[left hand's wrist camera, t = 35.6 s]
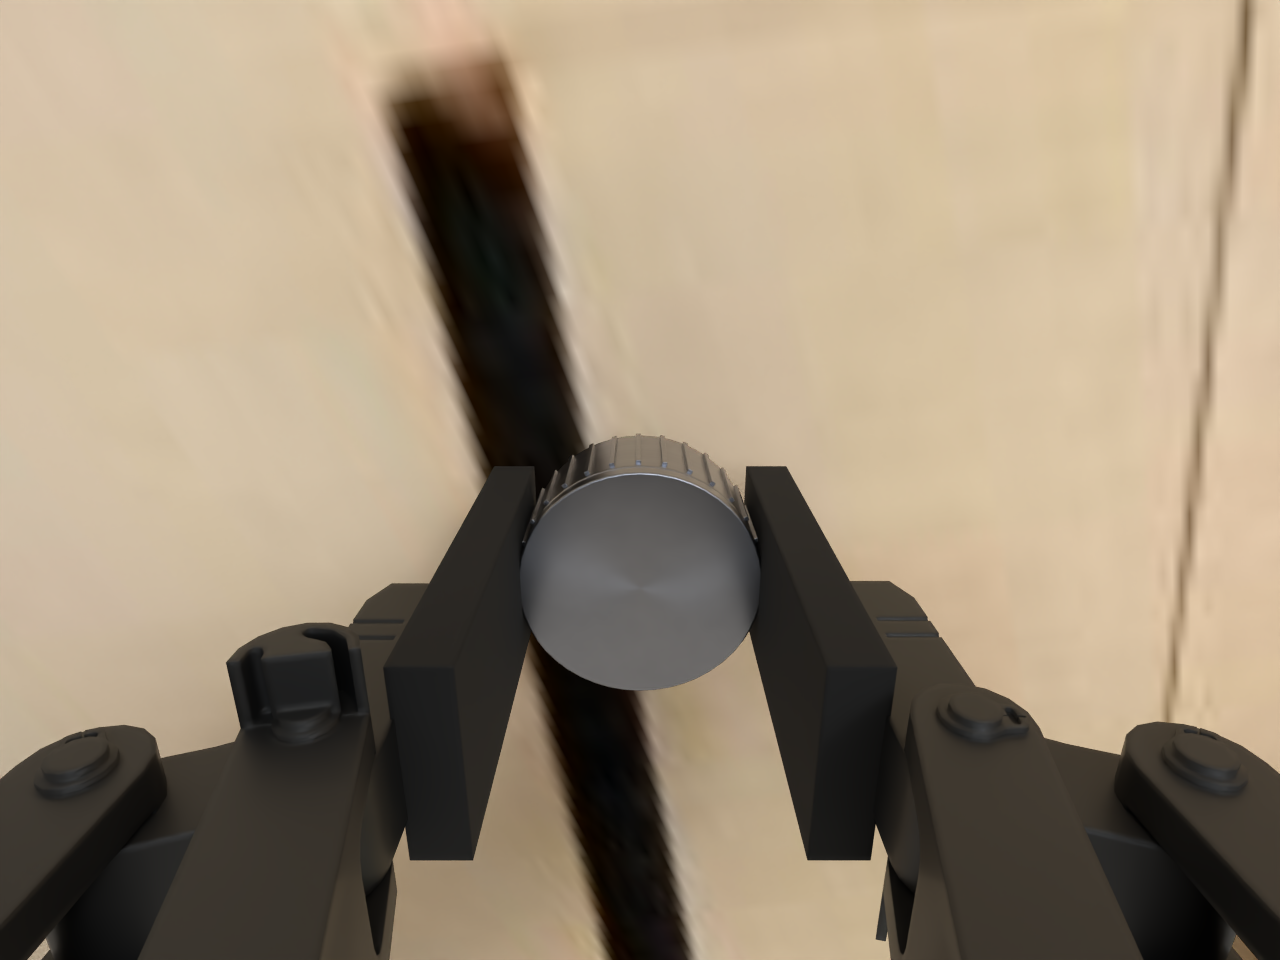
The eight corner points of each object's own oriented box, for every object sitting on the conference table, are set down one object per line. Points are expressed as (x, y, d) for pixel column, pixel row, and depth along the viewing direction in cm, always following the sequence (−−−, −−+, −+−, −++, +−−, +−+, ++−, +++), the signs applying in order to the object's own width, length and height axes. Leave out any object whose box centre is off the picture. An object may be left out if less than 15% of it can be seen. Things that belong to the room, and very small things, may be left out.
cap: (500, 588, 15) (479, 646, 13) (578, 396, 13) (568, 428, 12) (694, 659, 15) (701, 724, 13) (787, 482, 14) (811, 527, 12)
